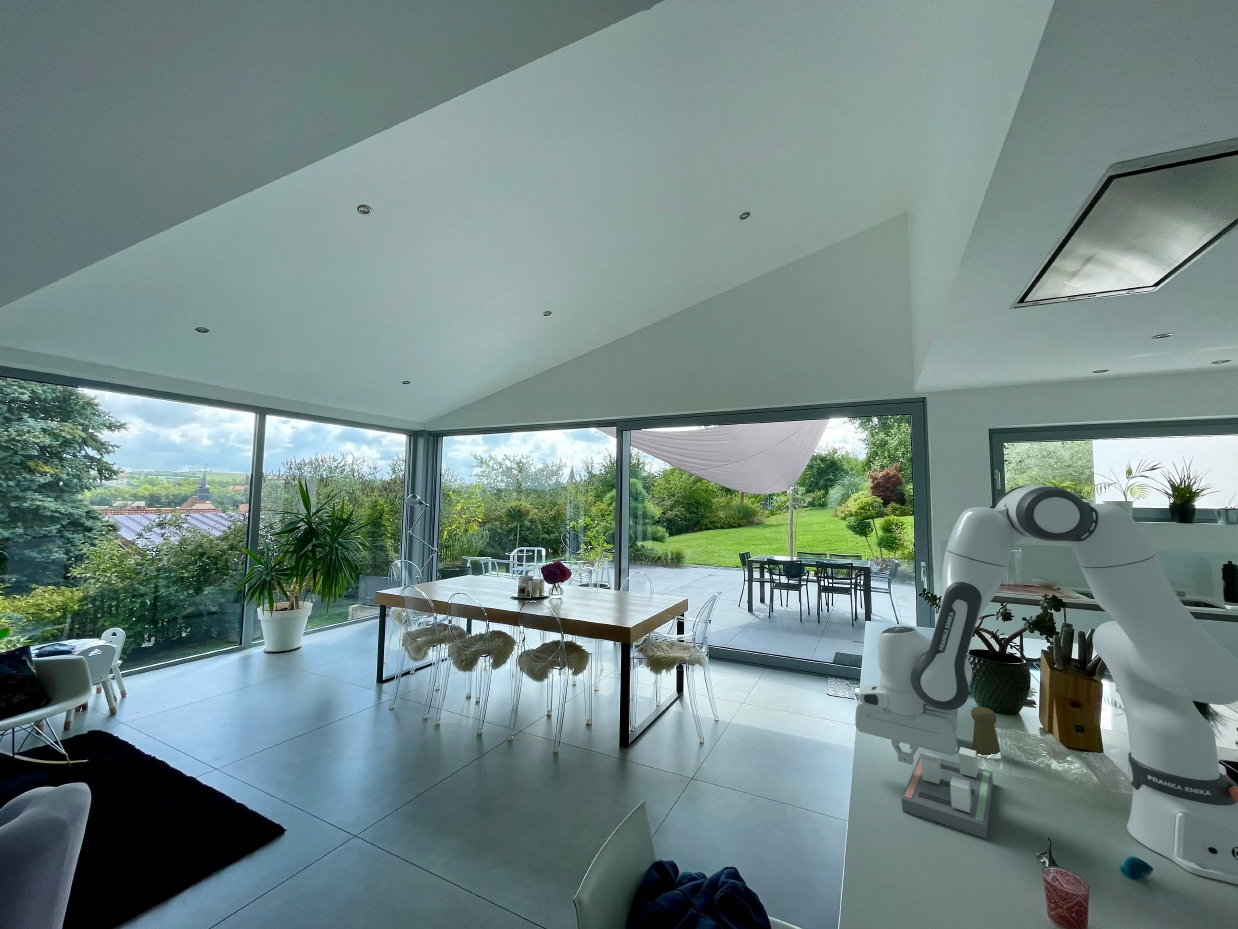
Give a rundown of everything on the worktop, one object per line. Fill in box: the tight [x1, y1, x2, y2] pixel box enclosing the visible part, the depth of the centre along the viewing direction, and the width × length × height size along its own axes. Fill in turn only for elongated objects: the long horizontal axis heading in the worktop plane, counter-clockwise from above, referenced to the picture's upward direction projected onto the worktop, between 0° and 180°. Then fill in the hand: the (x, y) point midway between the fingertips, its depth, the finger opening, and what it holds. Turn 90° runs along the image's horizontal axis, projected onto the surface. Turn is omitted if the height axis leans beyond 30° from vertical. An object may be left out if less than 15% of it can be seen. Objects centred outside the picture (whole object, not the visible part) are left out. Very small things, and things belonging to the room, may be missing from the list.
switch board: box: [901, 753, 994, 840], centre depth 106 cm, size 14×24×3 cm, turn 140°
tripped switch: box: [922, 752, 941, 784], centre depth 109 cm, size 3×4×4 cm
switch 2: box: [950, 776, 972, 813], centre depth 99 cm, size 3×4×4 cm
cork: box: [970, 706, 1001, 755], centre depth 125 cm, size 6×6×11 cm
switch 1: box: [958, 746, 979, 778], centre depth 111 cm, size 3×4×4 cm
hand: (905, 762), depth 112 cm, fingers closed
